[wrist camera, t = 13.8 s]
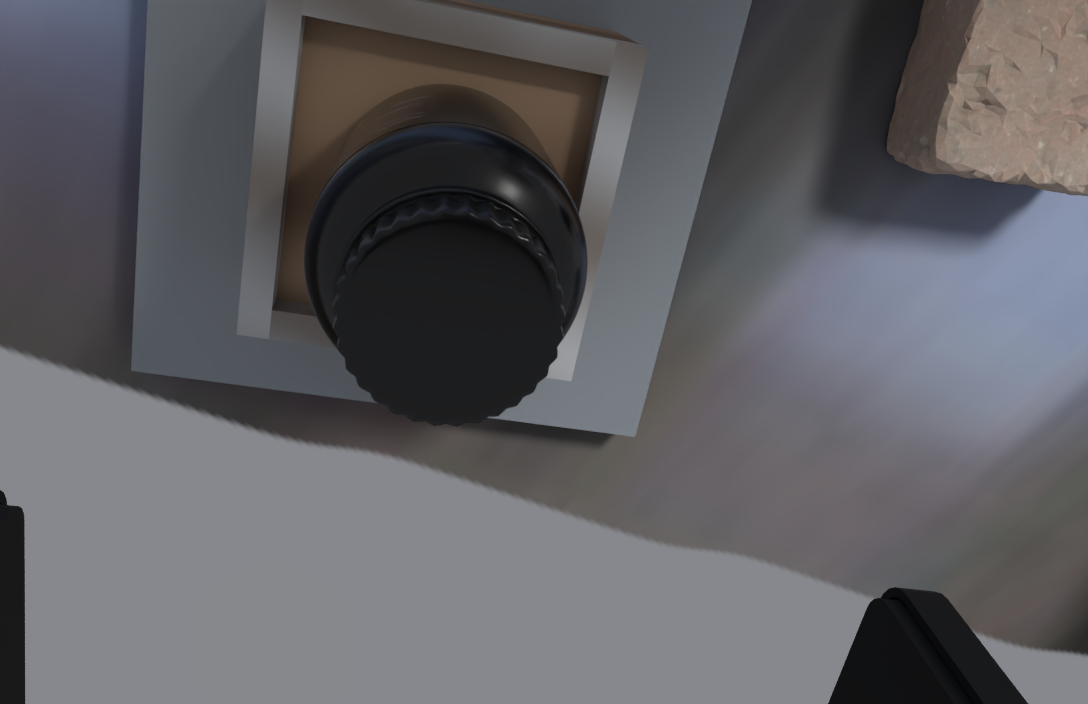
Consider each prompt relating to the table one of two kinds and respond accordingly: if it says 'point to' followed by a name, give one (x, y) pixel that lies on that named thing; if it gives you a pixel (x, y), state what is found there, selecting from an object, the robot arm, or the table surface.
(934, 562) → the table surface
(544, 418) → the baseplate
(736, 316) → the table surface
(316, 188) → the plinth
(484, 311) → the supplement bottle
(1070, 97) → the brick
